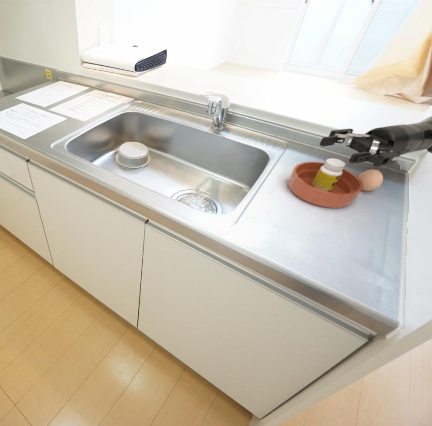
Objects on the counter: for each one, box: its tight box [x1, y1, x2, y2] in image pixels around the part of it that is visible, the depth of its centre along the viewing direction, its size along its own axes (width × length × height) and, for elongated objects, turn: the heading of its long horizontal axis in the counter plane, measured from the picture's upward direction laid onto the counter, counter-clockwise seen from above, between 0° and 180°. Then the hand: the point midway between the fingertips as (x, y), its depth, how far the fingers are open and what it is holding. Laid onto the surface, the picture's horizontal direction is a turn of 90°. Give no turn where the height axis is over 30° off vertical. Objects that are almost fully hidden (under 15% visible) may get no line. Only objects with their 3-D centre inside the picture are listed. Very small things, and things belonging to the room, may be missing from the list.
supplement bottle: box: [311, 157, 346, 192], centre depth 72 cm, size 5×5×8 cm
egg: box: [357, 168, 384, 192], centre depth 73 cm, size 5×5×6 cm
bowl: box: [287, 161, 363, 209], centre depth 74 cm, size 15×15×4 cm
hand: (336, 150), depth 66 cm, fingers open, 8 cm apart
